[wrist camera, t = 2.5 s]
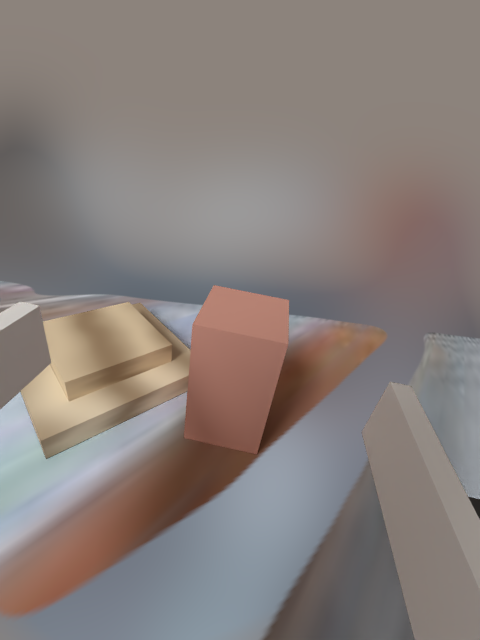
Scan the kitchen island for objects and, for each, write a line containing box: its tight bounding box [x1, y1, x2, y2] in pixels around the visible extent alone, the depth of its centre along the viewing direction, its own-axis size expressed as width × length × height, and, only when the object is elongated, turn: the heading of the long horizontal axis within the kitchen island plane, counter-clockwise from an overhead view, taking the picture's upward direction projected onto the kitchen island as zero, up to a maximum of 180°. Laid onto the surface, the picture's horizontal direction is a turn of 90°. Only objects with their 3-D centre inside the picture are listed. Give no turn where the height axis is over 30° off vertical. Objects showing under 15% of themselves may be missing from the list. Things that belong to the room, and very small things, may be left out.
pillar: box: [184, 285, 289, 454], centre depth 24 cm, size 6×6×11 cm
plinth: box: [20, 302, 191, 459], centre depth 29 cm, size 14×14×4 cm
